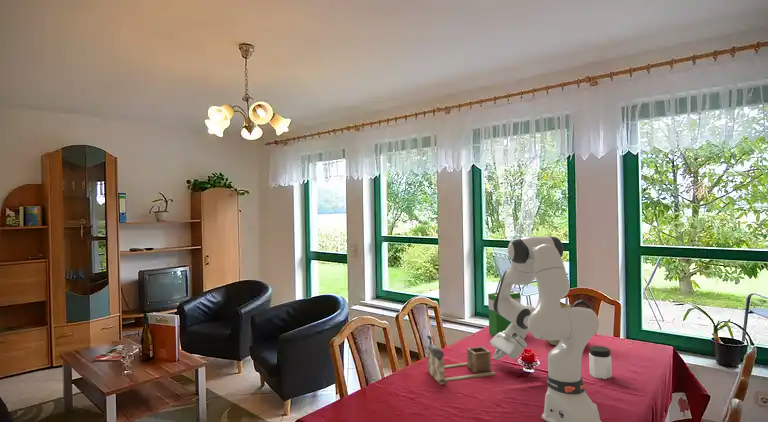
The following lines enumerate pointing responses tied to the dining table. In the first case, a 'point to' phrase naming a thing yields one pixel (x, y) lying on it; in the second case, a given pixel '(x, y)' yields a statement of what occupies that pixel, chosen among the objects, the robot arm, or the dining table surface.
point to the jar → (600, 362)
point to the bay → (438, 366)
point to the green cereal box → (496, 320)
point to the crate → (478, 359)
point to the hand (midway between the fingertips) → (494, 358)
